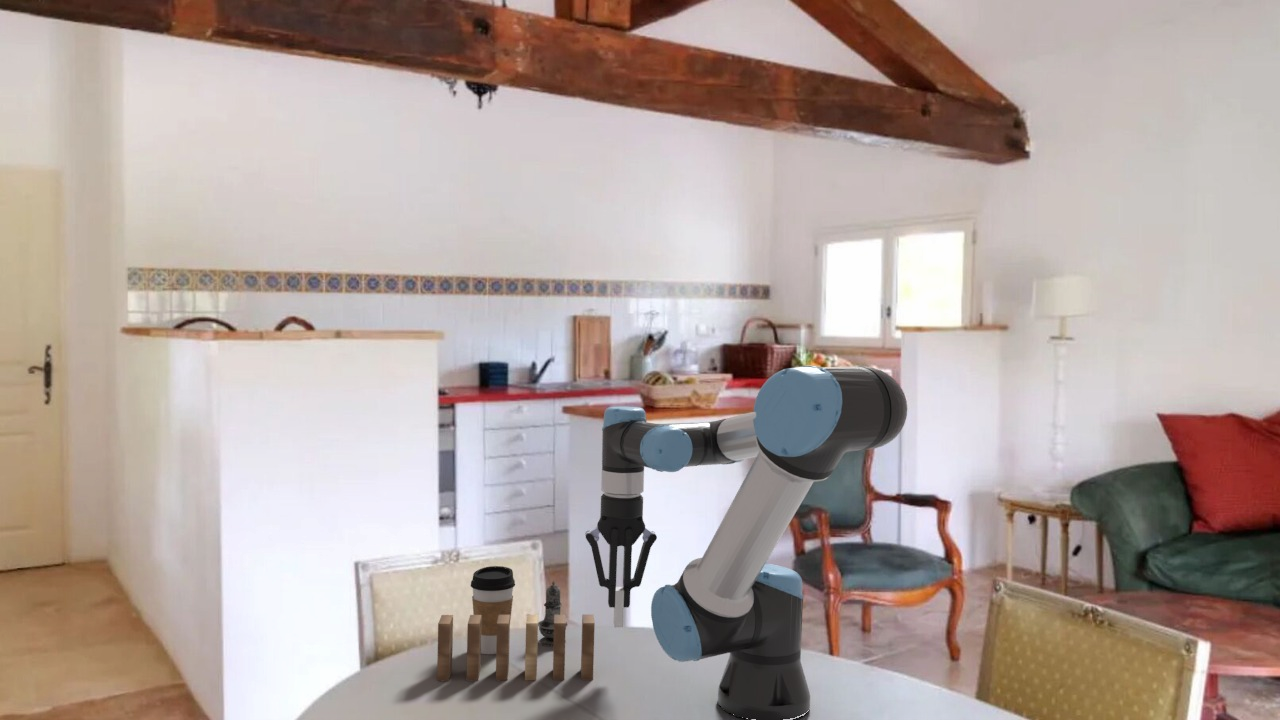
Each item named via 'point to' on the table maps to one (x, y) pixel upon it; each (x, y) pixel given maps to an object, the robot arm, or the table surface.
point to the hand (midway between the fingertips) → (618, 624)
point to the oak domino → (531, 647)
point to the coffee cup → (492, 601)
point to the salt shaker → (550, 615)
